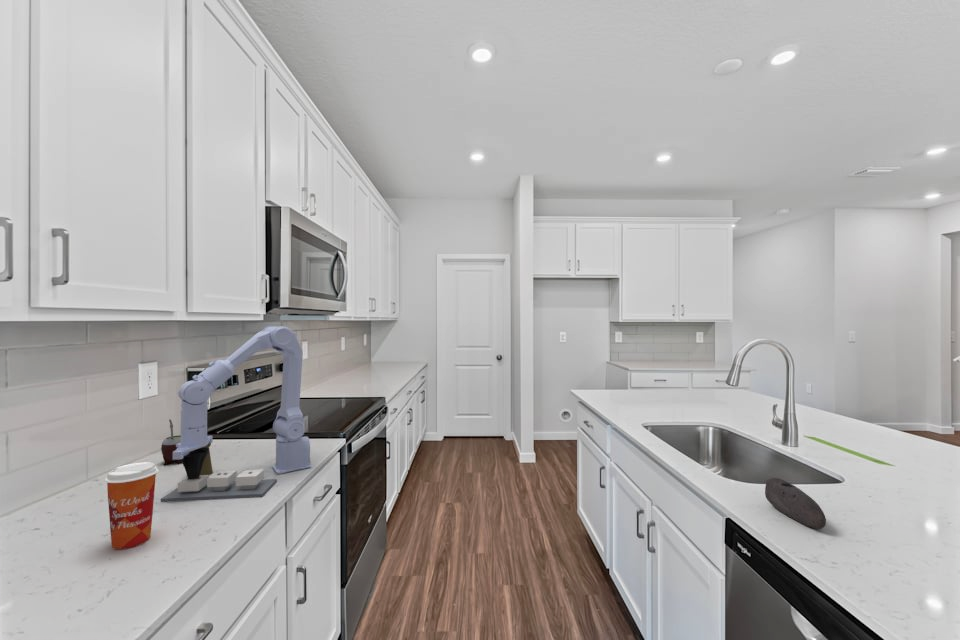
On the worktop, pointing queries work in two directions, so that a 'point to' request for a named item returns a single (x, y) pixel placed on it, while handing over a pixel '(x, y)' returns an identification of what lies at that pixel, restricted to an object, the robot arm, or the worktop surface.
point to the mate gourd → (170, 447)
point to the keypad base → (222, 492)
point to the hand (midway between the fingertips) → (193, 478)
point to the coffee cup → (131, 503)
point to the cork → (207, 463)
